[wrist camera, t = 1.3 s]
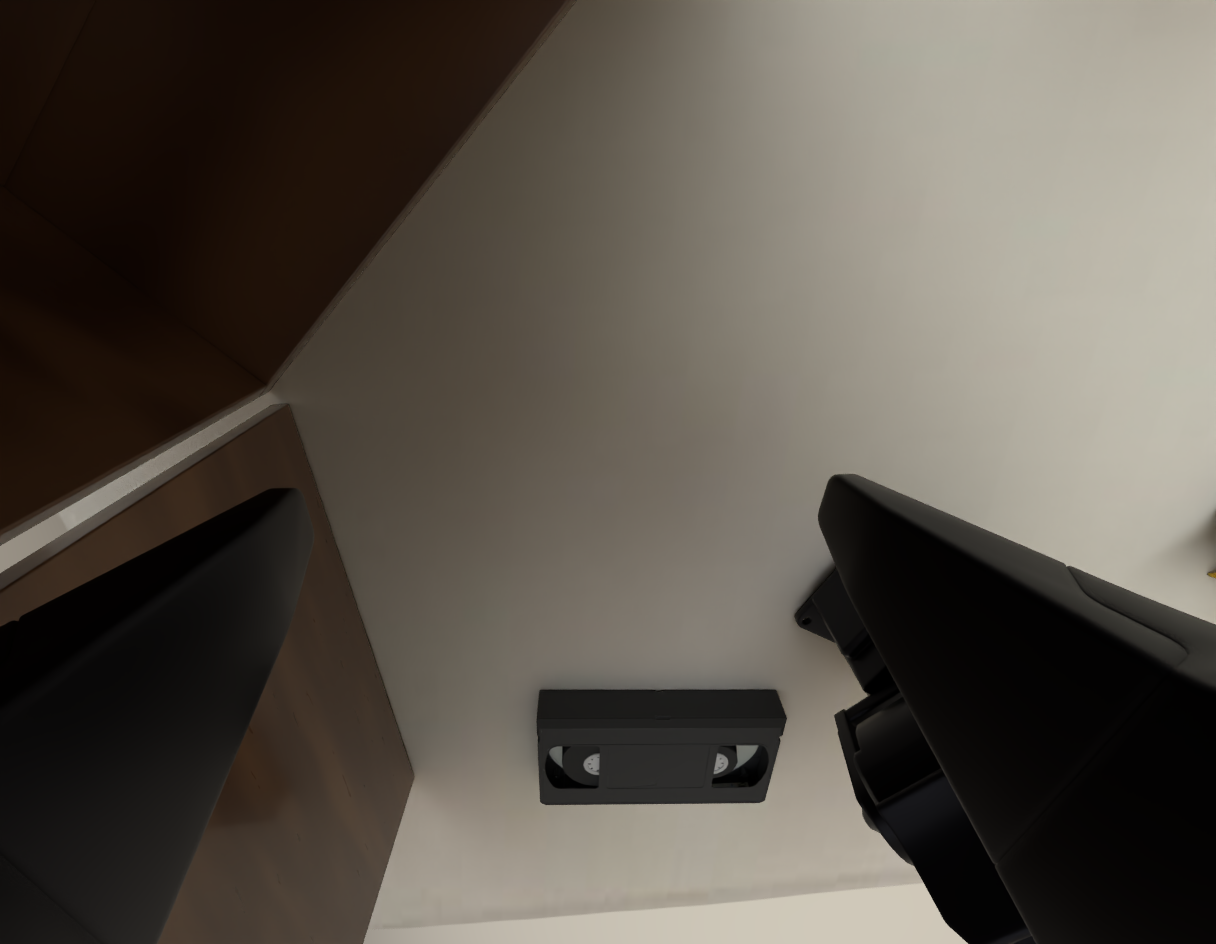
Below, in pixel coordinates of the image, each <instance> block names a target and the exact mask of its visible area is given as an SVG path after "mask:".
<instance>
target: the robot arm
mask: <svg viewBox="0 0 1216 944" xmlns="http://www.w3.org/2000/svg"><path fill="white" fill-rule="evenodd" d="M818 521H819V525H820V528H821V531H822V533H823V535H824V538H825V540H826V543H827V545H828V548H829V550H830V553H831V555H832V558H833V560H834V562H835V565H836V567H837V568H836V569H835V571H834V572H833V573H832V574H831V575H830V576H829V577H828V578H827V580H826V581H825V582H824V583H823V584H822V585H821V586H820V587H819V589H818V590H817V591H816V592H815V593H814V594H813V595H812V596H811V597H810V599H809V600H808V601H807V602H806V603H805V604H804V605H803V606H802V608H801V609H800V610H799V611H798V612H797V613H796V615H795V619H796V622H797V624H798V626H800V627H801V628H803V629H806V630H808V631H810V632H812V633H815V634H817V635H819V636H821V637H824V638H826V639H828V640H830V641H832V642H835V643H836V644H837V646H838V648H839V650H840V651H841V653H842V654H843V655H844V657H845V658H846V660H847V662H848V664H849V665H850V667H851V669H852V671H853V673H854V674H855V676H856V678H857V680H858V681H859V683H860V685H861V687H862V689H863V690H864V691H865V692H866V693H867V695H868V697H866V698H865V699H863V700H861V701H860V702H858V703H857V704H855V705H854V706H852V707H850V708H849V709H847V710H844V709H843V710H841V711H840V712H838V713H837V714H835V715H834V717H835V721H836V724H837V728H838V735H839V739H840V743H841V746H842V750H843V753H844V757H845V760H846V764H847V768H848V771H849V775H850V778H851V782H852V785H853V789H854V793H855V796H856V799H857V801H858V803H859V804H860V806H861V807H862V814H863V817H864V820H865V821H866V823H867V825H868V826H869V827H870V828H871V829H872V830H875V831H877V832H879V833H881V835H882V836H883V838H884V839H885V840H886V841H887V843H888V844H889V845H890V846H891V847H892V849H893V850H894V851H895V852H896V853H897V854H898V855H899V856H900V857H901V858H902V859H903V860H905V861H906V862H907V863H909V864H911V865H913V866H915V868H916V870H917V872H918V873H919V875H920V877H921V879H922V880H923V882H924V884H925V886H926V888H927V890H928V891H929V893H930V895H931V897H932V899H933V901H934V903H935V904H936V906H937V908H938V910H939V912H940V914H941V915H942V917H943V919H944V921H945V922H946V923H947V924H948V926H949V927H950V928H952V929H953V930H954V931H955V932H956V933H957V934H958V935H959V936H960V937H962V938H963V939H964V940H965V941H966V942H967V943H968V944H1216V625H1215V624H1212V623H1210V622H1207V621H1205V620H1202V619H1199V618H1197V617H1194V616H1192V615H1189V614H1186V613H1184V612H1181V611H1179V610H1176V609H1174V608H1171V607H1169V606H1166V605H1164V604H1161V603H1159V602H1156V601H1154V600H1151V599H1148V598H1146V597H1143V596H1141V595H1138V594H1136V593H1134V592H1131V591H1129V590H1126V589H1124V588H1122V587H1119V586H1117V585H1114V584H1112V583H1109V582H1107V581H1105V580H1102V579H1100V578H1097V577H1095V576H1093V575H1090V574H1088V573H1086V572H1083V571H1081V570H1079V569H1076V568H1074V567H1072V566H1067V567H1066V565H1065V564H1064V563H1062V562H1060V561H1057V560H1055V559H1053V558H1050V557H1048V556H1046V555H1043V554H1041V553H1039V552H1036V551H1034V550H1032V549H1029V548H1027V547H1025V546H1022V545H1020V544H1018V543H1015V542H1013V541H1011V540H1008V539H1006V538H1004V537H1001V536H999V535H997V534H994V533H992V532H990V531H987V530H985V529H983V528H980V527H978V526H976V525H973V524H971V523H969V522H966V521H964V520H962V519H959V518H957V517H954V516H952V515H950V514H947V513H945V512H943V511H940V510H938V509H936V508H933V507H931V506H929V505H926V504H924V503H922V502H919V501H917V500H915V499H912V498H910V497H908V496H905V495H903V494H901V493H898V492H896V491H894V490H891V489H889V488H887V487H884V486H882V485H880V484H877V483H875V482H873V481H870V480H868V479H866V478H863V477H861V476H859V475H856V474H837V475H834V476H832V477H831V478H830V479H829V481H828V483H827V486H826V490H825V493H824V496H823V499H822V502H821V506H820V509H819V513H818ZM313 544H314V529H313V525H312V522H311V518H310V515H309V512H308V508H307V505H306V502H305V498H304V495H303V493H302V492H301V490H299V489H298V488H293V487H291V488H270V489H268V490H266V491H264V492H262V493H260V494H258V495H256V496H254V497H252V498H250V499H248V500H246V501H244V502H242V503H240V504H238V505H236V506H234V507H232V508H231V509H229V510H227V511H225V512H223V513H221V514H219V515H217V516H215V517H213V518H211V519H209V520H207V521H205V522H203V523H201V524H199V525H197V526H195V527H193V528H192V529H190V530H188V531H186V532H184V533H182V534H180V535H178V536H176V537H174V538H172V539H170V540H168V541H166V542H164V543H162V544H160V545H158V546H156V547H155V548H153V549H151V550H149V551H147V552H145V553H143V554H141V555H139V556H137V557H135V558H133V559H131V560H129V561H127V562H125V563H123V564H121V565H119V566H118V567H116V568H114V569H112V570H110V571H108V572H106V573H104V574H102V575H100V576H98V577H96V578H94V579H92V580H90V581H88V582H86V583H84V584H82V585H80V586H79V587H77V588H75V589H73V590H71V591H69V592H67V593H65V594H63V595H61V596H59V597H57V598H55V599H53V600H51V601H49V602H47V603H45V604H43V605H42V606H40V607H38V608H36V609H34V610H32V611H30V612H28V613H26V614H24V615H22V616H21V617H20V618H19V621H16V620H13V621H10V622H8V623H6V624H4V625H2V626H0V944H158V942H159V939H160V937H161V935H162V932H163V930H164V927H165V925H166V923H167V920H168V918H169V915H170V913H171V911H172V908H173V906H174V903H175V901H176V899H177V896H178V894H179V892H180V889H181V887H182V884H183V882H184V880H185V877H186V875H187V872H188V870H189V868H190V865H191V863H192V860H193V858H194V856H195V853H196V851H197V848H198V846H199V844H200V841H201V839H202V836H203V834H204V832H205V829H206V827H207V825H208V822H209V820H210V817H211V815H212V813H213V810H214V808H215V805H216V803H217V801H218V798H219V796H220V793H221V791H222V789H223V786H224V784H225V781H226V779H227V777H228V774H229V772H230V770H231V767H232V765H233V762H234V760H235V758H236V755H237V753H238V750H239V748H240V746H241V743H242V741H243V738H244V736H245V734H246V731H247V729H248V726H249V724H250V722H251V719H252V717H253V714H254V712H255V710H256V707H257V705H258V703H259V700H260V698H261V695H262V693H263V691H264V688H265V686H266V683H267V681H268V679H269V676H270V674H271V671H272V669H273V667H274V664H275V662H276V659H277V657H278V655H279V652H280V650H281V648H282V645H283V643H284V640H285V638H286V635H287V633H288V630H289V627H290V625H291V622H292V619H293V615H294V612H295V609H296V605H297V601H298V598H299V594H300V591H301V587H302V583H303V580H304V576H305V573H306V569H307V565H308V562H309V558H310V555H311V551H312V547H313ZM807 617H808V618H807ZM804 618H807V619H804ZM803 619H804V620H803Z"/></svg>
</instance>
